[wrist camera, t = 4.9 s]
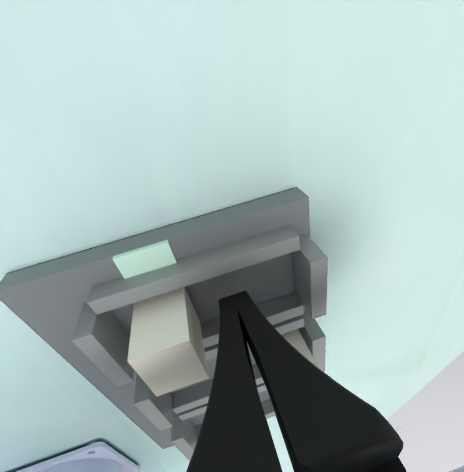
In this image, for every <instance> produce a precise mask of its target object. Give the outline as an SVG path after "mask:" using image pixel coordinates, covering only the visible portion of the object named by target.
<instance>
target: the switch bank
mask: <svg viewBox="0 0 464 472" xmlns="http://www.w3.org/2000/svg"><path fill="white" fill-rule="evenodd" d="M182 287H185V289H186V291H187V293H188V295H189V298H190V300H191V302H192V305H193V307H194V309H195V311H196V314H197V316H198V318H199V320H200V325H201V332H202V338H203V344H204V350H205V356H206V363H207V369H208V375H209V378H208V379H205V380H202V381H200V382H197V383H194V384H191V385H188V386H185V387H183V388H180V389H177V390H174V391H171V392H168V393H166V394H163V395H160V396H156V395H155V394H154V393H153V392H152V390H151V389H150V388H149V387H148V386H147V384H146V383H145V382H144V381H143V380H142V378H141V377H140V376H139V375H138V374H137V372H136V371H135V370H134V369H133V368H132V366H131V365H130V364H129V363H128V362H127V360H128V351H129V342H130V333H131V324H132V315H133V306H134V303H135V302H138V301H141V300H144V299H148V298H151V297H154V296H157V295H160V294H163V293H166V292H169V291H173V290H176V289H179V288H182ZM242 291H247V292H248V294H249V296H250V297H251V299H252V301H253V302H254V303H255V305H256V306H257V308H258V309H259V310H260V311H261V313H262V314H263V315H264V316H265V318H266V319H267V320H268V321H269V322H270V323H271V324H272V326H273V327H274V328H275V329H276V330H277V331H278V332H279V333H280V334H284V333H287V332H290V331H293V330H296V329H298V330H299V332H300V334H301V336H302V337H303V339H304V341H305V343H306V345H307V347H308V349H309V350H310V352H311V354H312V356H313V358H314V360H315V362H316V363H317V365H318V367H319V369H320V370H321V371H323V372H324V371H325V340H326V336H325V335H324V333H323V331H322V330H321V328H320V327H319V325H318V324H317V322H316V320H315V318H318V317H320V316H323V315H326V297H327V256H326V255H325V254H324V253H323V252H322V251H321V250H320V249H319V248H318V246H317V245H316V244H315V243H314V242H313V241H312V240H311V239H310V231H309V197H308V196H307V195H305V194H304V193H303V192H302V191H301V190H300V189H298V188H297V187H296V188H293V189H290V190H286V191H283V192H280V193H276V194H273V195H270V196H266V197H263V198H259V199H256V200H253V201H249V202H246V203H243V204H239V205H236V206H233V207H229V208H226V209H222V210H219V211H216V212H212V213H209V214H206V215H202V216H199V217H196V218H192V219H189V220H186V221H182V222H179V223H175V224H172V225H169V226H165V227H162V228H159V229H155V230H152V231H149V232H145V233H142V234H138V235H135V236H132V237H128V238H125V239H122V240H118V241H115V242H112V243H108V244H105V245H101V246H98V247H95V248H91V249H88V250H85V251H81V252H78V253H75V254H71V255H68V256H65V257H61V258H58V259H54V260H51V261H48V262H44V263H41V264H38V265H34V266H31V267H28V268H24V269H21V270H17V271H14V272H11V273H7V274H6V275H5V277H4V278H3V279H2V280H1V282H0V300H1V301H2V302H3V303H4V304H5V305H6V306H7V307H8V308H10V309H11V310H12V311H13V312H14V313H15V314H16V315H17V316H18V317H19V318H20V319H22V320H23V321H24V322H25V323H26V324H27V325H28V326H29V327H30V328H31V329H32V330H34V331H35V332H36V333H37V334H38V335H39V336H40V337H41V338H42V339H43V340H44V341H46V342H47V343H48V344H49V345H50V346H51V347H52V348H53V349H54V350H55V351H56V352H58V353H59V354H60V355H61V356H62V357H63V358H64V359H65V360H66V361H67V362H68V363H70V364H71V365H72V366H73V367H74V368H75V369H76V370H77V371H78V372H79V373H80V374H82V375H83V376H84V377H85V378H86V379H87V380H88V381H89V382H90V383H91V384H93V385H94V386H95V387H96V388H97V389H98V390H99V391H100V392H101V393H102V394H103V395H105V396H106V397H107V398H108V399H109V400H110V401H111V402H112V403H113V404H114V405H115V406H117V407H118V408H119V409H120V410H121V411H122V412H123V413H124V414H125V415H126V416H127V417H129V418H130V419H131V420H132V421H133V422H134V423H135V424H136V425H137V426H138V427H139V428H141V429H142V430H143V431H144V432H145V433H146V434H147V435H148V436H149V437H150V438H151V439H153V440H154V441H155V442H156V443H157V444H158V445H159V446H160V447H161V448H162V449H165V448H167V447H170V446H173V445H175V446H176V447H177V448H178V449H179V450H180V451H181V452H182V453H183V454H184V455H185V456H186V457H187V458H188V459H191V457H192V455H193V452H194V449H195V446H196V443H197V439H198V436H199V433H200V429H201V426H202V422H203V419H204V416H205V412H206V408H207V404H208V400H209V396H210V391H211V387H212V382H213V377H214V372H215V366H216V359H217V351H218V343H219V329H220V309H219V300H220V299H221V298H224V297H227V296H230V295H233V294H236V293H239V292H242ZM247 345H248V343H247ZM248 349H249V354H250V358H251V363H252V367H253V372H254V376H255V380H256V385H257V389H258V393H259V397H260V401H261V404H262V407H263V410H264V414H265V417H266V419H267V418H270V417H273V416H275V412H274V409H273V406H272V403H271V400H270V397H269V394H268V391H267V389H266V386H265V384H264V381H263V379H262V376H261V374H260V372H259V369H258V367H257V365H256V362H255V360H254V357H253V355H252V353H251V350H250V348H249V346H248Z"/></svg>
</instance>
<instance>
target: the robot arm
mask: <svg viewBox="0 0 464 472" xmlns="http://www.w3.org/2000/svg"><path fill="white" fill-rule="evenodd" d="M219 309H220V329H219V343H218V351H217V359H216V366H215V372H214V377H213V382H212V387H211V391H210V396H209V400H208V404H207V408H206V412H205V416H204V419H203V422H202V426H201V429H200V433H199V436H198V439H197V443H196V446H195V449H194V452H193V455H192V457H191V460H190V463H189V466H188V469H187V472H282V469H281V466H280V462H279V459H278V456H277V453H276V449H275V446H274V443H273V440H272V436H271V433H270V430H269V427H268V423H267V420H266V417H265V414H264V410H263V407H262V404H261V401H260V397H259V393H258V389H257V385H256V380H255V376H254V372H253V367H252V363H251V358H250V354H249V349H248V346H249V348H250V350H251V353H252V355H253V357H254V360H255V362H256V365H257V367H258V369H259V372H260V374H261V376H262V379H263V381H264V384H265V386H266V389H267V391H268V394H269V397H270V400H271V403H272V406H273V409H274V412H275V415H276V418H277V421H278V424H279V427H280V430H281V433H282V436H283V439H284V442H285V445H286V448H287V451H288V454H289V457H290V460H291V463H292V466H293V469H294V472H406V469H405V467H404V466H403V464H402V463H401V461H400V459H399V458H398V456H399V454H400V452H401V451H402V449H403V441H402V440H401V439H400V437H399V435H398V434H397V432H396V431H395V430H394V429H393V427H392V426H391V425H390V424H389V422H388V421H387V420H386V419H385V418H384V417H383V416H382V415H381V414H380V412H379V411H378V410H377V409H376V408H374V407H373V406H371V405H370V404H368V403H366V402H365V401H363V400H362V399H360V398H359V397H357V396H356V395H354V394H353V393H351V392H350V391H348V390H347V389H346V388H344V387H343V386H341V385H340V384H339V383H337V382H336V381H334V380H333V379H332V378H331V377H329V376H328V375H327V374H325V373H324V372H323V371H321V370H320V369H319V368H318V367H316V366H315V365H314V364H313V363H311V362H310V361H309V360H308V359H307V358H305V357H304V356H303V355H302V354H301V353H300V352H299V351H297V350H296V349H295V348H294V347H293V346H292V345H291V344H290V343H289V342H288V341H287V340H286V339H285V338H284V337H283V336H282V335H281V334H280V333H279V332H278V331H277V330H276V329H275V328H274V327H273V326H272V324H271V323H270V322H269V321H268V320H267V319H266V318H265V316H264V315H263V314H262V313H261V311H260V310H259V309H258V308H257V306H256V305H255V303H254V302H253V301H252V299H251V297H250V296H249V294H248V292H247V291H242V292H239V293H236V294H233V295H230V296H227V297H224V298H221V299H220V300H219ZM247 343H248V345H247ZM139 469H140V468H139V466H137V465H136V464H134V463H133V462H132V461H130V460H129V459H127V458H126V457H124V456H123V455H122V454H120V453H119V452H117V451H116V450H114V449H113V448H111V447H110V446H109V445H107V444H106V443H104V442H96V443H93V444H91V445H88V446H85V447H82V448H79V449H77V450H74V451H71V452H68V453H66V454H63V455H60V456H57V457H55V458H52V459H49V460H46V461H43V462H41V463H38V464H35V465H32V466H30V467H27V468H24V469H21V470H19V471H16V472H139ZM450 472H464V466H462V467H459V468H457V469H455V470H452V471H450Z"/></svg>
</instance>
